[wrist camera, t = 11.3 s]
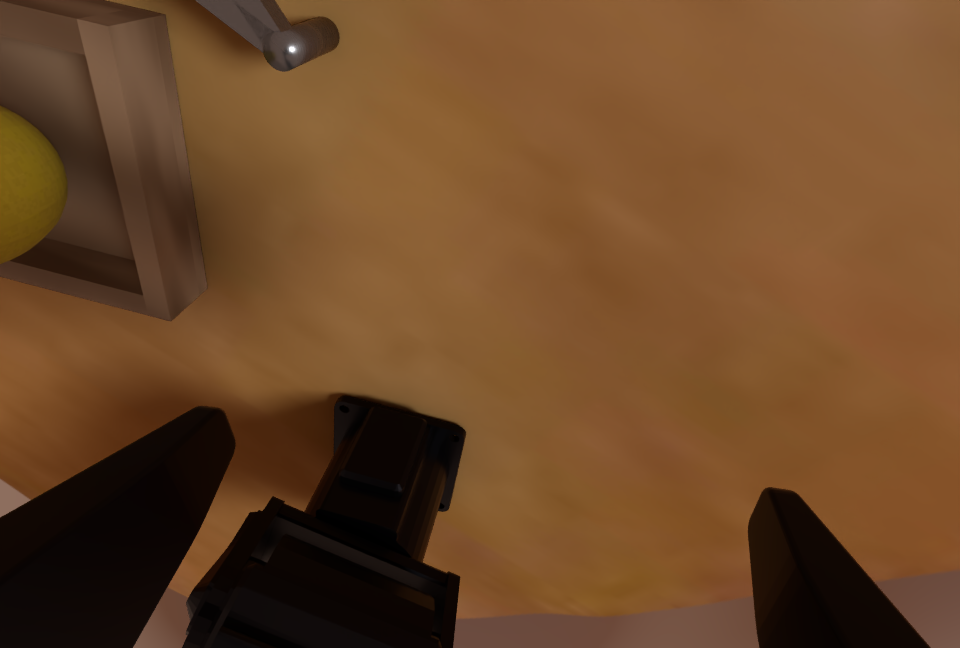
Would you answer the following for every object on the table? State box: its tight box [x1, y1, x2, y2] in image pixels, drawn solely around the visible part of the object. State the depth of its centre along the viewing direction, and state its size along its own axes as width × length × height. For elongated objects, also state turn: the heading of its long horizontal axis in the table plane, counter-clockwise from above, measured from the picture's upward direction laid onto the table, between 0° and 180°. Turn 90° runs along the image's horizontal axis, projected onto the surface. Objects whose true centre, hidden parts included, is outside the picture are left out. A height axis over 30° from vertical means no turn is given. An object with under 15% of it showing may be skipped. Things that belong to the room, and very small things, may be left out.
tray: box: [0, 0, 207, 321], centre depth 21 cm, size 11×11×3 cm
